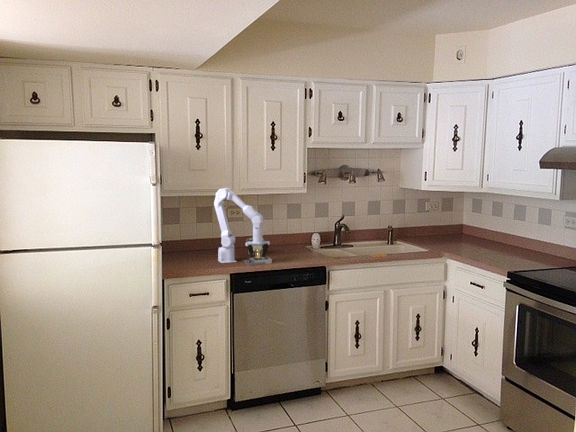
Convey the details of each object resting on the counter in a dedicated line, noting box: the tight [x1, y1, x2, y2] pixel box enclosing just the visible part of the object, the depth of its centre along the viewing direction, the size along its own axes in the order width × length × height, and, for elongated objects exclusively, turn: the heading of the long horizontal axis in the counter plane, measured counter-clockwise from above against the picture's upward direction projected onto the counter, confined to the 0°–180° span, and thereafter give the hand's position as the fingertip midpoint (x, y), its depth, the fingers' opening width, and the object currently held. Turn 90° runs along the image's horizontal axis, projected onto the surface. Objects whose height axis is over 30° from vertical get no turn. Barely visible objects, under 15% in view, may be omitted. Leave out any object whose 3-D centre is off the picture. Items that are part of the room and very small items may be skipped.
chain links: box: [243, 256, 273, 266], centre depth 306 cm, size 15×8×3 cm, turn 113°
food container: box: [245, 237, 265, 256], centre depth 332 cm, size 12×6×10 cm, turn 70°
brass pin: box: [254, 249, 262, 260], centre depth 305 cm, size 4×4×8 cm
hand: (257, 257), depth 305 cm, fingers open, 7 cm apart
